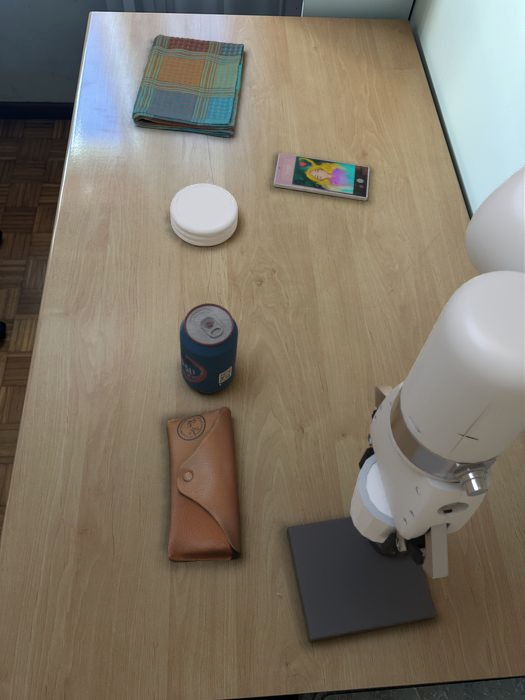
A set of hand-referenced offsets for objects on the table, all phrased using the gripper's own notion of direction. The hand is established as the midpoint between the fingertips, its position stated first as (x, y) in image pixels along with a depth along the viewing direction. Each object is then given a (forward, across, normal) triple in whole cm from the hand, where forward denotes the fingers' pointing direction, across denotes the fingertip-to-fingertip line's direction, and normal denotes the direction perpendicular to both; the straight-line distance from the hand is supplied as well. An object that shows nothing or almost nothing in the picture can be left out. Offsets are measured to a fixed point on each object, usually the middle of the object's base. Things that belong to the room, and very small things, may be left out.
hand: (386, 504), depth 59 cm
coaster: (+20, +52, +9) cm, 57 cm away
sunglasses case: (+20, +11, +15) cm, 27 cm away
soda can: (+20, +26, +12) cm, 35 cm away
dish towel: (+20, +83, +8) cm, 86 cm away
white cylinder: (+2, 0, 0) cm, 2 cm away
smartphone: (+20, +59, -10) cm, 63 cm away
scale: (+20, -2, -1) cm, 20 cm away
